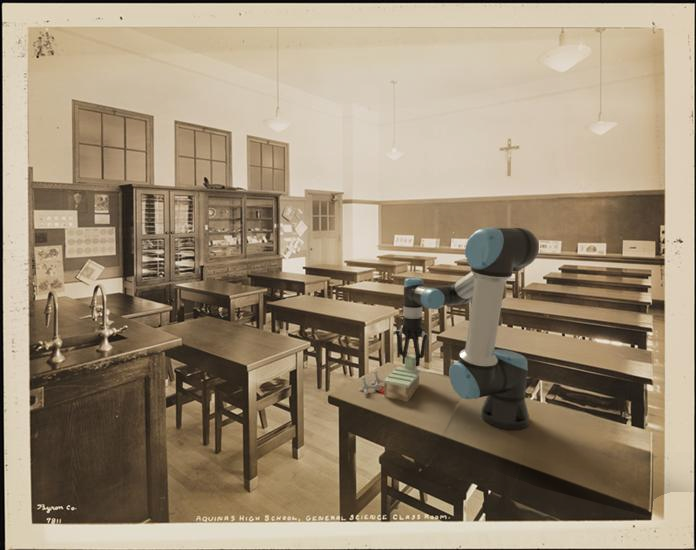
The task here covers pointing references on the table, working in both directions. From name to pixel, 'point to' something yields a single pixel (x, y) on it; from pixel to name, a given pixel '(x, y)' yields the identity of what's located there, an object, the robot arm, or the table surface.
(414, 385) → the tub
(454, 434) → the table surface
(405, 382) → the ridged block with tab
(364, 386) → the molecular model
